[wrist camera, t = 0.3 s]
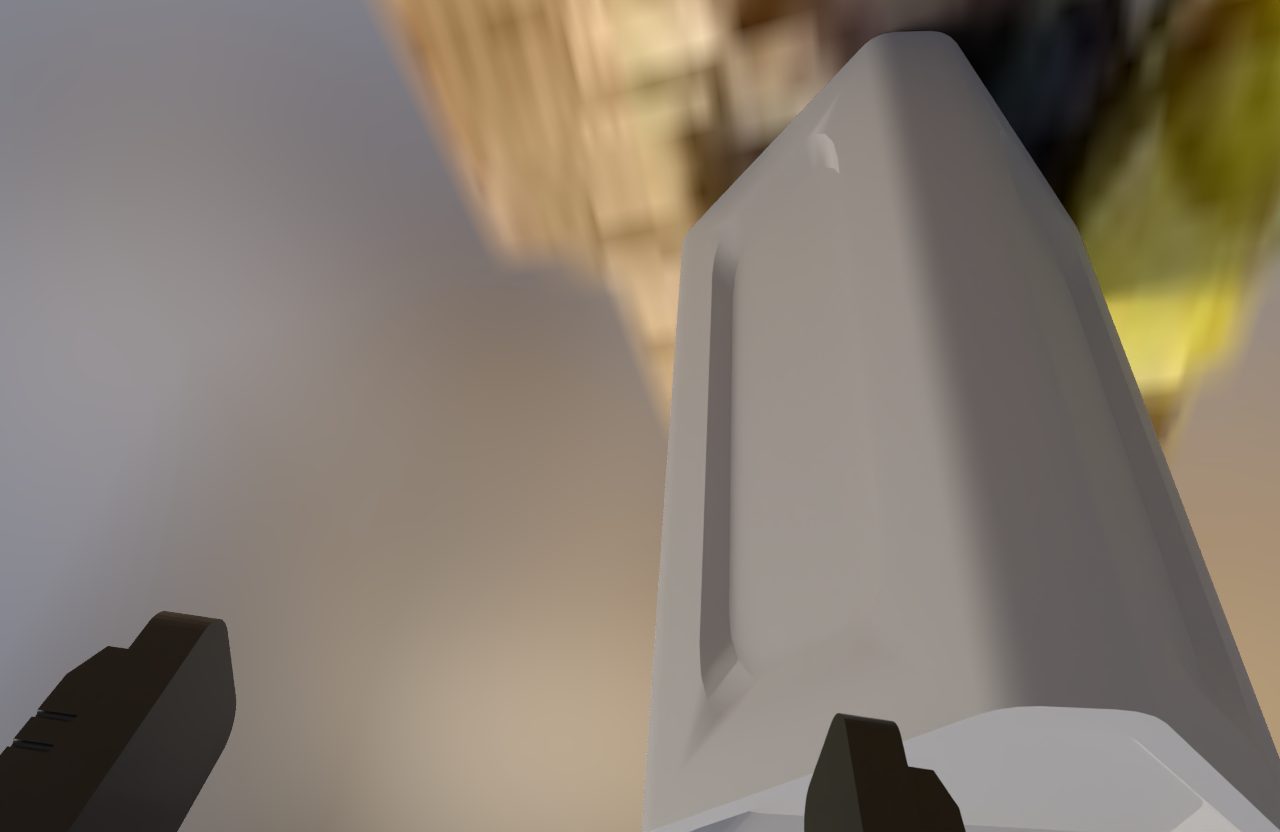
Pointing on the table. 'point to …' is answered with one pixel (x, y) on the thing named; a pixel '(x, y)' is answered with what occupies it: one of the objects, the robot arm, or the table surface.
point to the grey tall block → (928, 494)
